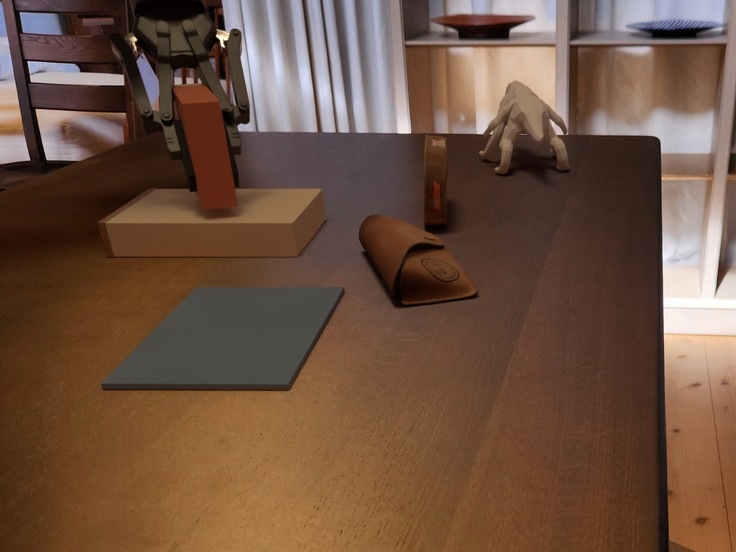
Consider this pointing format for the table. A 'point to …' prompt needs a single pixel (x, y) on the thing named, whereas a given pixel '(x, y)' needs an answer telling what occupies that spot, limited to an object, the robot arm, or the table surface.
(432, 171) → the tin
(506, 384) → the table surface
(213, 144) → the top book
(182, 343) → the mat
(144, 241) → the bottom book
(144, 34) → the robot arm
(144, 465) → the table surface
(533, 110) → the beige creature figurine
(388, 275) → the sunglasses case
